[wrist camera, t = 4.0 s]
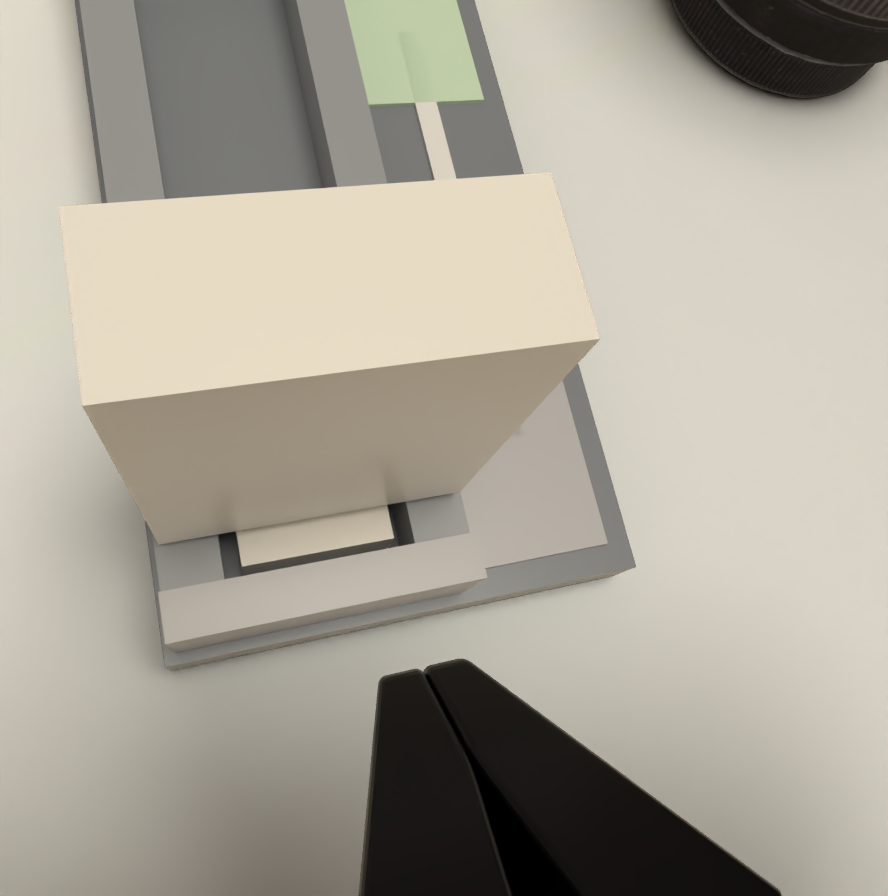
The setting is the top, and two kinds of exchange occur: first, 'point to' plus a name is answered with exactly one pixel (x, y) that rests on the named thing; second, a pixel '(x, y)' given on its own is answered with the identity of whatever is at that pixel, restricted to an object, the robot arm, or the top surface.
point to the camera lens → (791, 41)
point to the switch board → (324, 166)
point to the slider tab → (318, 350)
